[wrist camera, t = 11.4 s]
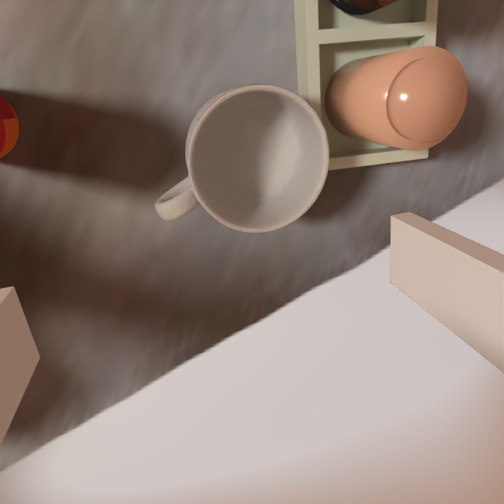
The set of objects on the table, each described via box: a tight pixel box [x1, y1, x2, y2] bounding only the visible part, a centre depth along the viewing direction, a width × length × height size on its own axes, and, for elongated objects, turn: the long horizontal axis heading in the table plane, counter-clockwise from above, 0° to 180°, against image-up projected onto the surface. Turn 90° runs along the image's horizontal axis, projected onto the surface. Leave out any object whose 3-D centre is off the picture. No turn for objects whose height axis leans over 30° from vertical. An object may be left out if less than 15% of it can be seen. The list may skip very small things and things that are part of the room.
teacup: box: [155, 84, 329, 233], centre depth 34 cm, size 14×11×8 cm
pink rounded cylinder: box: [325, 46, 468, 151], centre depth 32 cm, size 7×7×11 cm
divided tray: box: [294, 0, 438, 170], centre depth 34 cm, size 11×21×3 cm, turn 5°
